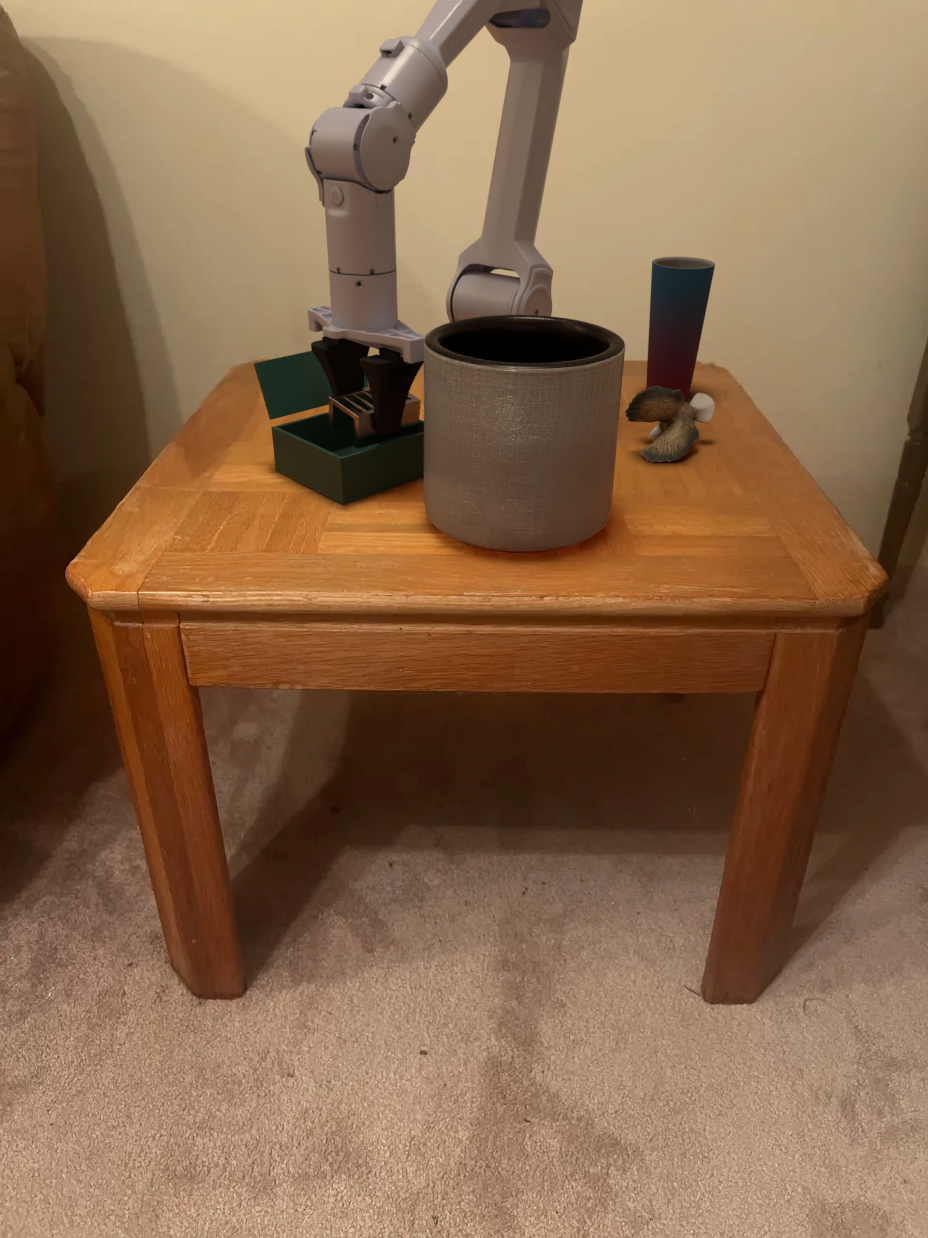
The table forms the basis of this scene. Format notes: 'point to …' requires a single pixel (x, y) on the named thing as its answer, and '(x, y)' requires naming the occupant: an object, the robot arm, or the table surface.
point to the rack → (368, 416)
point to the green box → (345, 459)
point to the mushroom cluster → (670, 420)
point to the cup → (676, 320)
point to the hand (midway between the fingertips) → (369, 423)
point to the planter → (520, 430)
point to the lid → (293, 384)
